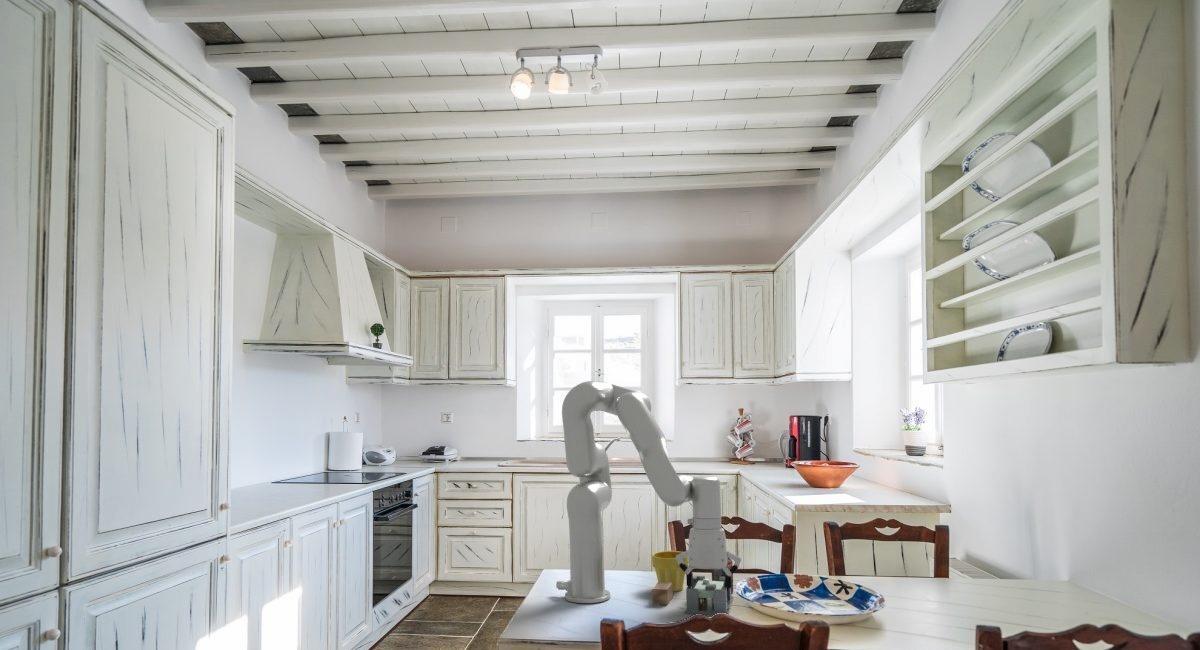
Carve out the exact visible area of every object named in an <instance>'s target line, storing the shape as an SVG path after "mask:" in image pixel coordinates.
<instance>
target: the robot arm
mask: <svg viewBox="0 0 1200 650" xmlns="http://www.w3.org/2000/svg"><path fill="white" fill-rule="evenodd" d="M598 411H599V412H600V411H601V412H604V413H608V414H610V415H613V416H617V418H618V420H619V421H620V423H621V425H622V426H623V429H625V431H626V433H627V435H628V437H629V438H630V441H631V442H632V444H633V445H634V447H635V449H636V451H637V453H638V455H639V459H640V461H641V464H642V467H643V470H644V472H645V474H646V477H647V479H648V481H649V482H650V485H652V488H653V489H654V492H655V493H656V494H657V496H658V498H659V499H660V500H661V501H662V503H663V504H665V505H666V506H668V507H672V508H675V507H679V506H682V505H683V504H684V503H688V502H691V504H692V517H691V518H687V525H691V526H692V527H691V528H690V529H689V534H688V547H687V550H685V551H682V552H683V553H681V554H679V555H677V556H676V560H677V562H678V564H679V566H680V568H681V569H682V570H683V571H684V572H685V578H686V579H685V580H686V587H688V586H692V588H693V576H694V575H693V574H694V573H693V572H692V571H693V570H694V569H696V570H697V569H700V570H701V569H702V570H712V569H723V570H724V572H725V573H726V576H725V587H727V592H729V588H732V581H731V575H732V574H733V575H734V573H735V572H736V571H737V570H738V568H739V567H740V565H741V561H742V558H741V557H740V556H739V555H736V554H735V553H733V552H731V551H729V550H728V546H727V544H728V543H727V538H726V533H725V529H724V528H723V527H722V507H721V505H722V503H721V501H722V500H721V499H722V498H721V481H720V480H719V478H718V477H716V476H710V475H709V476H708V475H707V476H706V475H705V476H703V475H702V476H692V475H686V474H678V473H677V472H676V470H675V468H674V466H673V464H672V462H671V459H670V457H669V454H668V451H667V440H666V436H665V434H664V432H663V431H662V429H661V428H660V425H659V424H658V423H657V421H656V419H655V417H654V416H653V414H652V403H651V400H650V398H649V397H648V395H646V394H644V393H643V392H640V391H636V390H632V389H629V388H626V387H623V386H619V385H616V384H612V383H609V382H606V381H600V380H599V381H598V380H597V381H596V380H589V381H588V380H587V381H583V382H581V383H579V384H577V385H575V386H574V387H572V388H571V389H570V390H569V391H568V392H567V393H566V395H565V397H564V399H563V402H562V406H561V418H562V419H561V421H562V429H563V439H564V450H565V451H564V452H565V462H566V467H567V470H568V471H569V473H570V474H571V475H572V476H574V477H575V478H579V483H578V484H576V485H574V486H573V487H572V488H571V489H570V490H569V492H568V495H567V497H566V511H567V516H568V517H567V518H568V527H569V531H568V532H569V565H570V566H569V572H570V573H569V575H570V577H569V580H567V581H563V580H562V581H559V580H558V581H556V585H555V588H556V589H557V590H560V591H561V590H562V591H563V590H565V591H566V592H565V594H564V599H565V600H566V601H569V602H571V603H574V604H575V603H576V604H577V603H578V604H594V603H595V604H597V603H602V602H605V601H607V600H609V599H610V598H611V592H610V591H609V590H608V589H605V585H606V583H605V542H604V541H605V540H604V537H605V536H604V525H603V518H602V512H603V511H604V510H605V509H607V508H608V507H609V505H610V504H611V502H612V496H613V489H612V480H611V470H610V464H609V463H610V460H609V457H608V454H607V451H606V450H605V448H604V446H602V445H601V444H600V443H598V442H596V439H595V434H594V433H595V431H594V429H595V428H594V425H593V422H592V418H591V417H592V416H591V415H592V412H598ZM687 556H688V567H687V565H686V564H685V563H684V562H683V560H682V559H683V558H685V557H687ZM728 558H730V559H731V560H732V561H733V562H734V564H733V566H732V567H731V568H730V567H729V566H728V565H727V563H728Z"/></svg>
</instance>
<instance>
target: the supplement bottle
mask: <svg viewBox="0 0 1200 650" xmlns="http://www.w3.org/2000/svg"><path fill="white" fill-rule="evenodd" d="M733 562H734V561H733V560H732V559H730V558H728V563H727V565H728V566H729V567H730V568H731V567H732V566H733V565H734V564H733ZM725 576H726V573H725V572H724V570H723V569H711V581H719V577H725ZM731 581H732V588H731V594H732V593H733V592H734V573H733V574H732V575H731Z"/></svg>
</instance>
